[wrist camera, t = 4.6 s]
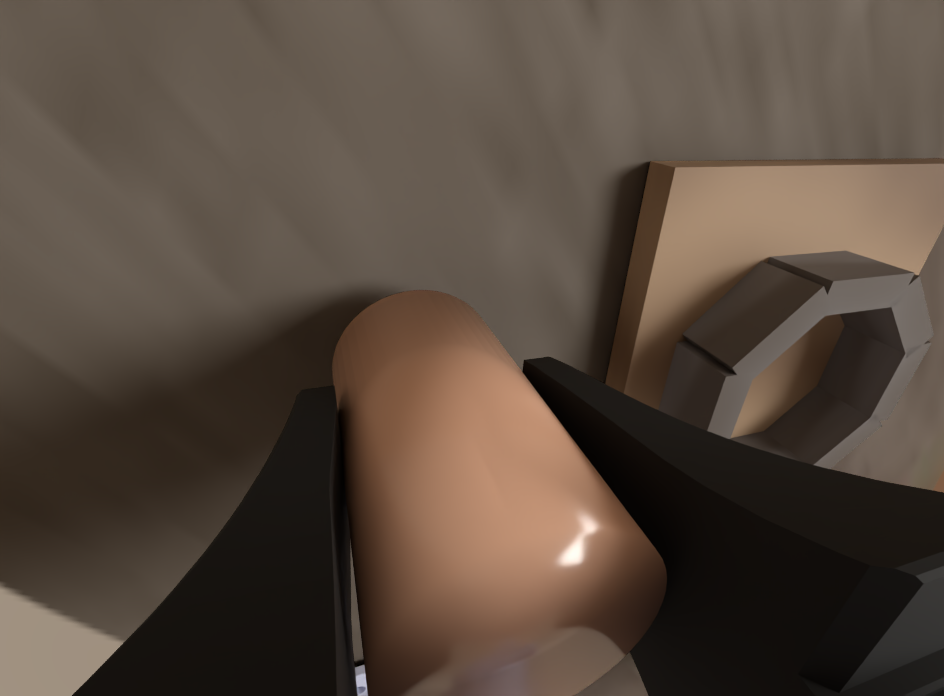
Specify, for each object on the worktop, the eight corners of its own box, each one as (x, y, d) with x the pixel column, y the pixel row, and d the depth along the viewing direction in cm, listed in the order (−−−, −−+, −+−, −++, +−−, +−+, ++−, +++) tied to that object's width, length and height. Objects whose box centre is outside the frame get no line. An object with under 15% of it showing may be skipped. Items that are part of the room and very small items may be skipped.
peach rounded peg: (488, 417, 13) (633, 681, 8) (341, 442, 12) (378, 772, 6) (496, 283, 11) (701, 497, 6) (322, 297, 10) (351, 583, 5)
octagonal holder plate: (794, 462, 22) (857, 512, 19) (578, 514, 19) (621, 581, 16) (939, 158, 15) (1062, 174, 13) (650, 161, 12) (738, 183, 10)
